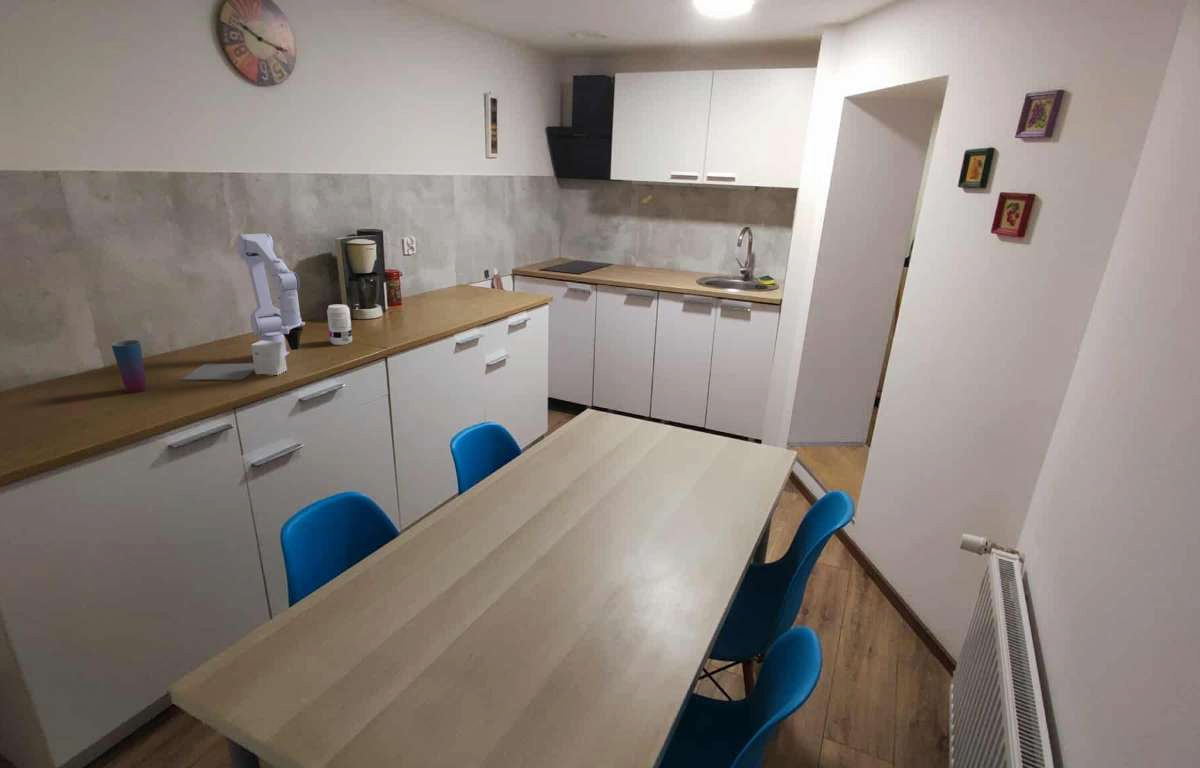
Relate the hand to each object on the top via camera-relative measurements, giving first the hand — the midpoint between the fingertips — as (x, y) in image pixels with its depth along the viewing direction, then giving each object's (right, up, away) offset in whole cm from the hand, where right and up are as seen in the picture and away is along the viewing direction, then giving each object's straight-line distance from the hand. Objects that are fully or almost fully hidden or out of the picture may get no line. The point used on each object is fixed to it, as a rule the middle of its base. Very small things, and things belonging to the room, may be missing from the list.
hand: (294, 349), depth 199 cm
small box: (-9, -8, +1) cm, 12 cm away
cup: (-39, -14, -19) cm, 45 cm away
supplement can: (-1, +5, +38) cm, 38 cm away
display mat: (-24, -8, -1) cm, 25 cm away
